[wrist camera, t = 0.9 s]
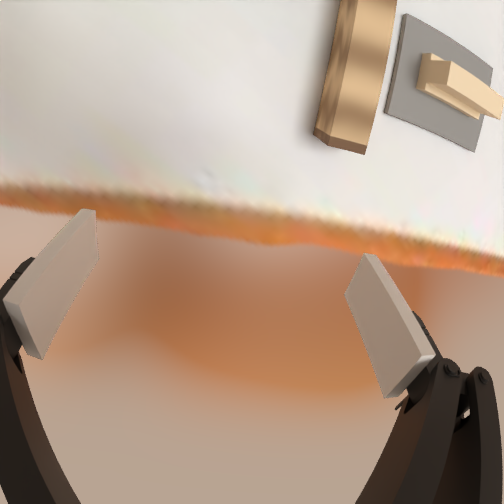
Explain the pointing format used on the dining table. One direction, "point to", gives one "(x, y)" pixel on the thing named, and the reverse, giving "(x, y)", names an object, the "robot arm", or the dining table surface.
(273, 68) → the dining table surface
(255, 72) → the dining table surface
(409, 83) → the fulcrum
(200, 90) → the dining table surface
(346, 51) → the oak bar
